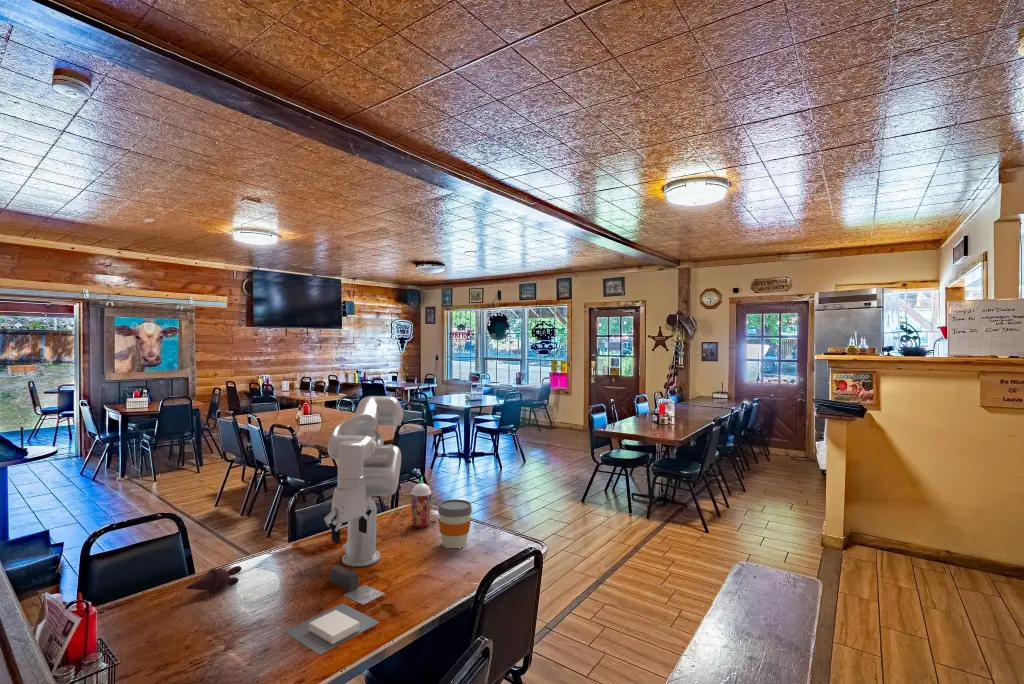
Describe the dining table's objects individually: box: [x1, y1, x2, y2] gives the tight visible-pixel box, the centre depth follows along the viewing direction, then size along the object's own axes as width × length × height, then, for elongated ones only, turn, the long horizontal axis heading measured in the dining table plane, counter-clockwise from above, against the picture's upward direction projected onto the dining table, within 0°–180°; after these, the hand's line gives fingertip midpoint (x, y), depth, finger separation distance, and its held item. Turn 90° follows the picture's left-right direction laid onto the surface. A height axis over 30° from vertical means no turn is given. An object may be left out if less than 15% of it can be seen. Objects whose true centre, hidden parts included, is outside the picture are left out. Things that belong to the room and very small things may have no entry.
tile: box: [309, 610, 360, 644], centre depth 133 cm, size 2×8×10 cm
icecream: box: [186, 565, 243, 595], centre depth 153 cm, size 7×7×15 cm
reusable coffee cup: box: [437, 499, 473, 549], centre depth 193 cm, size 13×13×15 cm
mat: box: [282, 603, 380, 656], centre depth 135 cm, size 16×18×1 cm
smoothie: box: [410, 476, 432, 528], centre depth 211 cm, size 8×8×20 cm
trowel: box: [329, 564, 386, 605], centre depth 155 cm, size 19×8×5 cm, turn 55°
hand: (349, 537), depth 157 cm, fingers open, 9 cm apart
